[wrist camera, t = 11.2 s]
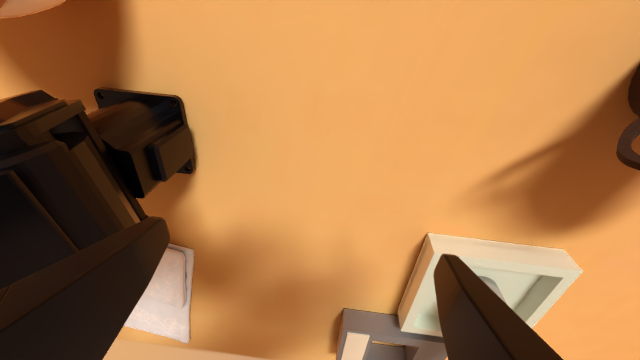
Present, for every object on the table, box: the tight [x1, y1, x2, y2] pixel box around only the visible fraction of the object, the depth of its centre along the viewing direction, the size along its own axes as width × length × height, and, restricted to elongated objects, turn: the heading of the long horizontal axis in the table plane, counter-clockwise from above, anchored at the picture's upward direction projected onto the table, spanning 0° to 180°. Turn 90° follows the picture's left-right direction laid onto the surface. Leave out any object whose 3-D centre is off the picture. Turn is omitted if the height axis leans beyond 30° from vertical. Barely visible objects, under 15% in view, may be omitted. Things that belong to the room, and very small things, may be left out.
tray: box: [397, 233, 583, 337], centre depth 27 cm, size 12×12×2 cm
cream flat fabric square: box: [124, 243, 195, 344], centre depth 33 cm, size 19×20×2 cm
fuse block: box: [336, 308, 447, 360], centre depth 33 cm, size 12×8×3 cm, turn 86°
